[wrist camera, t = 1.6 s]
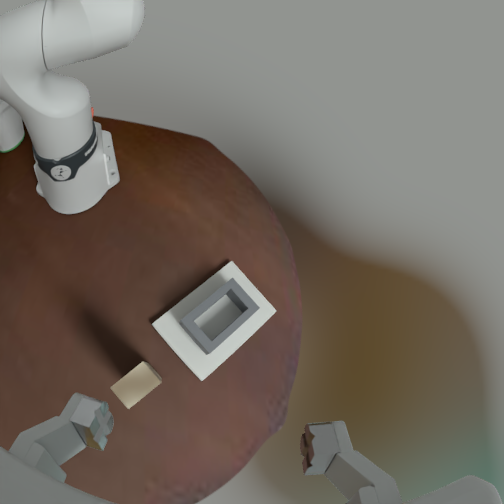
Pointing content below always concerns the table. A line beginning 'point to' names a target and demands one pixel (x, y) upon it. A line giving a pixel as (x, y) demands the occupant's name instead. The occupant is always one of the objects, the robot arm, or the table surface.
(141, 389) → the slat
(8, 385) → the table surface
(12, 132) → the cup
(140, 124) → the table surface
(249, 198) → the table surface
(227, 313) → the stand
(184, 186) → the table surface
